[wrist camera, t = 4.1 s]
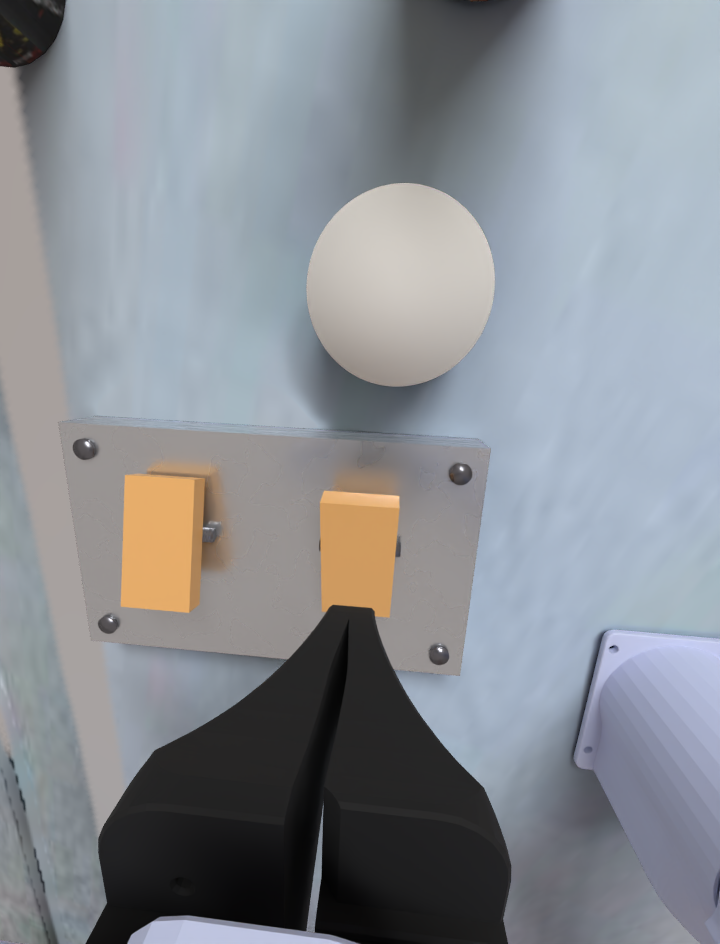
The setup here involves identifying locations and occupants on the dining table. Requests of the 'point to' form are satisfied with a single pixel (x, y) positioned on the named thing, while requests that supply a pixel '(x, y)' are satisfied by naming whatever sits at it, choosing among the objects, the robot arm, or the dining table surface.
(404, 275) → the white egg-shaped stone
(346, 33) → the dining table surface
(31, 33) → the deodorant
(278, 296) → the dining table surface
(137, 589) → the paddle
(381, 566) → the paddle
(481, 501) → the breaker panel
